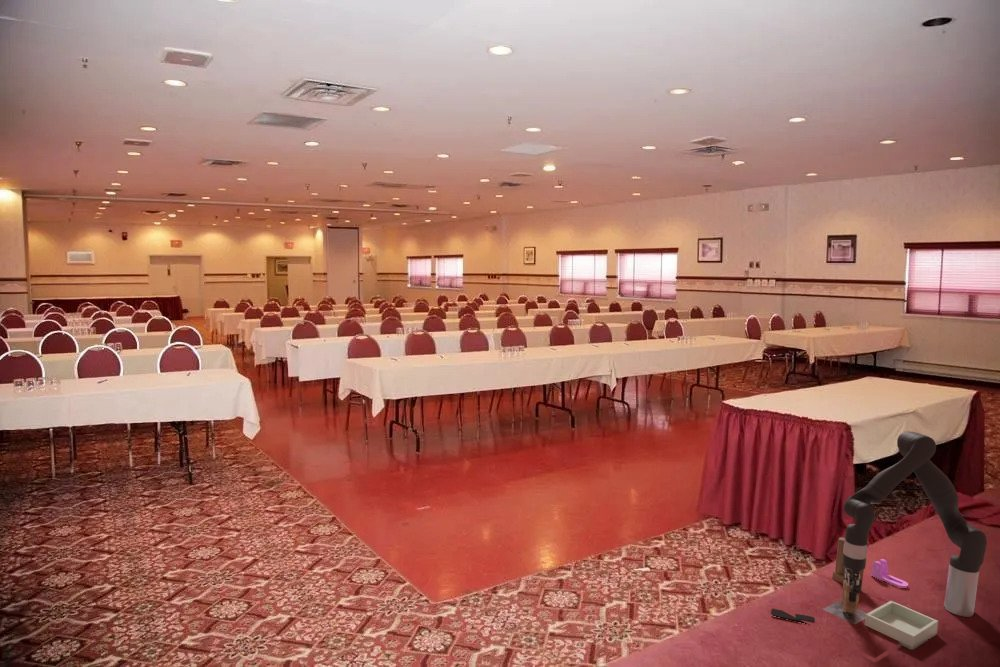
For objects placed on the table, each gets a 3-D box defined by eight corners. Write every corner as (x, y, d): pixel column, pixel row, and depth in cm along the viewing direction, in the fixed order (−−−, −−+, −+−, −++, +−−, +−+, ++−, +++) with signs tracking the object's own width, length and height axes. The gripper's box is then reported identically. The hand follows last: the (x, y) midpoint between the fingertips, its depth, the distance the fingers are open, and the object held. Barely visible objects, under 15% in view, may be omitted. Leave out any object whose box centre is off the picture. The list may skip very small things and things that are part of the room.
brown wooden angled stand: (855, 592, 267) (860, 548, 264) (831, 580, 276) (836, 537, 274) (861, 590, 268) (866, 547, 266) (837, 578, 278) (842, 536, 276)
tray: (889, 613, 252) (891, 600, 251) (936, 634, 239) (938, 621, 238) (864, 627, 242) (865, 614, 241) (912, 650, 229) (913, 636, 228)
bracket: (870, 576, 281) (872, 560, 280) (877, 573, 284) (879, 557, 283) (903, 590, 270) (905, 573, 269) (910, 587, 273) (912, 570, 272)
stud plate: (839, 602, 258) (840, 591, 258) (871, 617, 249) (873, 605, 248) (822, 611, 252) (823, 599, 251) (854, 627, 242) (855, 614, 241)
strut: (840, 605, 252) (843, 579, 250) (853, 606, 251) (856, 581, 250) (843, 611, 248) (846, 585, 246) (857, 613, 247) (860, 587, 245)
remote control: (770, 619, 247) (816, 627, 242) (771, 614, 247) (816, 622, 241) (770, 612, 251) (815, 620, 246) (770, 608, 251) (815, 615, 246)
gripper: (872, 564, 239) (867, 609, 241) (860, 546, 252) (855, 589, 255) (848, 561, 240) (844, 606, 243) (838, 544, 254) (834, 587, 256)
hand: (850, 597), depth 249 cm, fingers closed on strut, 4 cm apart
